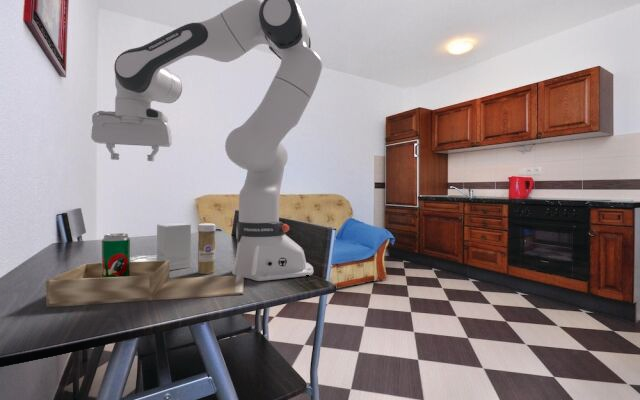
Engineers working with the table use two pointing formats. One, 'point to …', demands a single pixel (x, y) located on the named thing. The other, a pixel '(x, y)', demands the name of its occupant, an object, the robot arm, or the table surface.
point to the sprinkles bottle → (206, 248)
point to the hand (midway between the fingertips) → (133, 160)
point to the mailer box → (134, 285)
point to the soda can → (116, 255)
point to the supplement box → (174, 244)
